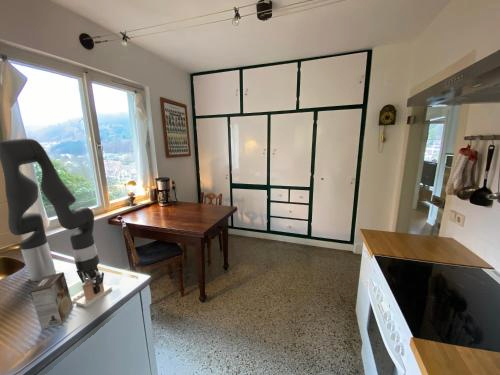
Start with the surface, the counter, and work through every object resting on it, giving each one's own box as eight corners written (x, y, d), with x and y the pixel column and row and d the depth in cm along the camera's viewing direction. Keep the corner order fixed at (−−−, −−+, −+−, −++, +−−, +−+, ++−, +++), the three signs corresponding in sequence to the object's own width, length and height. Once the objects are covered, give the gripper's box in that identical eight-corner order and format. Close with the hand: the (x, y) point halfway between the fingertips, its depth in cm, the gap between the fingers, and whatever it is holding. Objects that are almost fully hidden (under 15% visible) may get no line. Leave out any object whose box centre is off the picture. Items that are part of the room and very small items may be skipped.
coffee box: (53, 311, 83) (43, 275, 79) (73, 306, 85) (64, 271, 81) (40, 330, 74) (28, 291, 71) (62, 324, 76) (52, 286, 73)
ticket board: (54, 297, 90) (53, 294, 90) (81, 281, 100) (81, 278, 100) (73, 303, 86) (72, 300, 86) (99, 285, 96) (98, 283, 96)
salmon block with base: (76, 304, 85) (72, 289, 84) (102, 286, 96) (99, 272, 94) (86, 307, 84) (82, 292, 82) (111, 289, 94) (108, 275, 92)
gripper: (64, 257, 84) (74, 294, 88) (88, 263, 79) (97, 301, 83) (84, 248, 91) (92, 283, 95) (107, 253, 86) (114, 289, 90)
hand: (94, 291), depth 89 cm, fingers closed on salmon block with base, 3 cm apart
